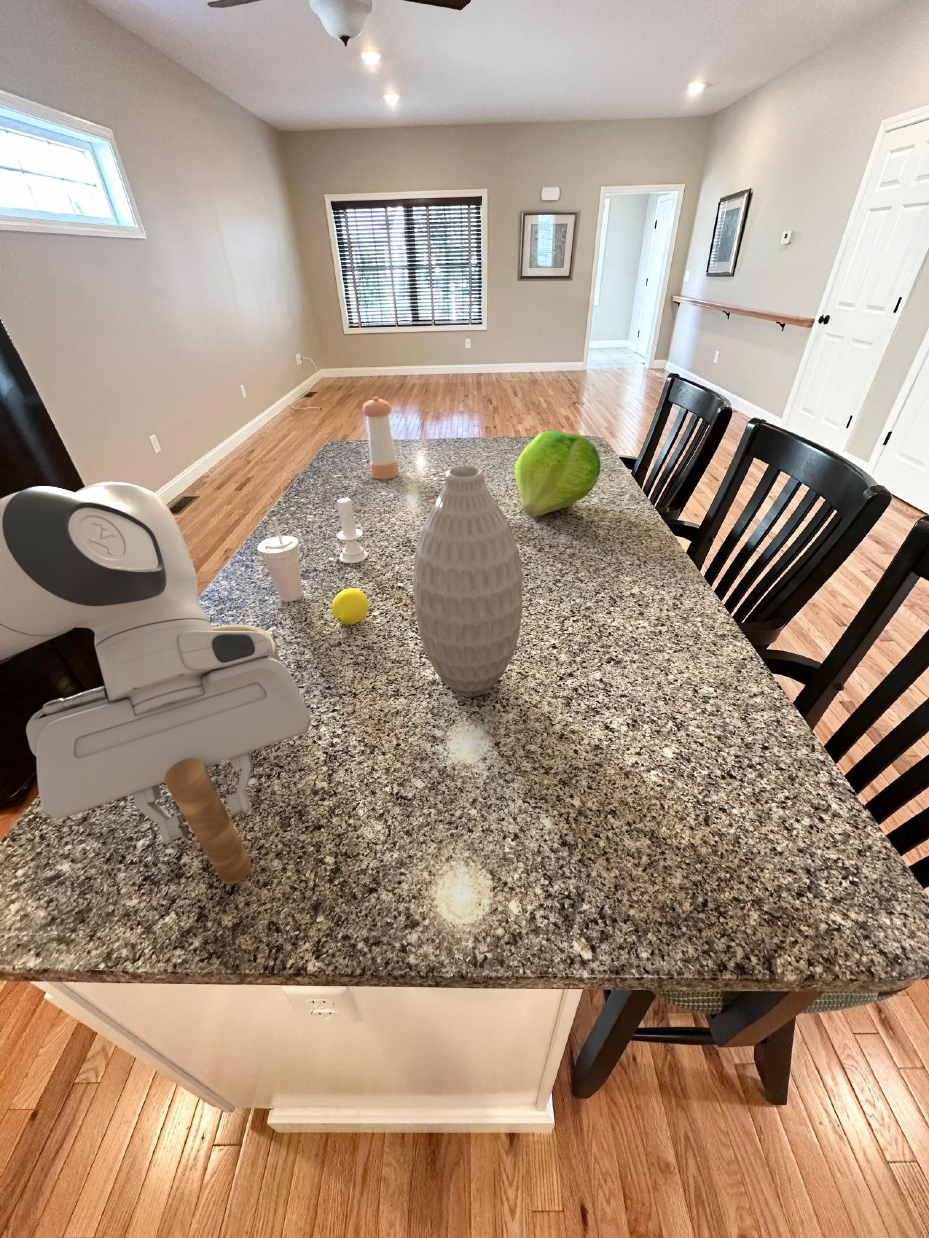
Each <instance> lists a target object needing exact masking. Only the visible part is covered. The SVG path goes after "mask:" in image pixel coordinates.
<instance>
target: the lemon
mask: <svg viewBox="0 0 929 1238" xmlns="http://www.w3.org/2000/svg"><path fill="white" fill-rule="evenodd" d="M369 608H370V605H369V599H368V597H367V595H366V593H364V592H363V591H361V589H359V588H354V587H350V588H344V589H342V590H341V591H340V592H338V593H337V594H336V596H335V597H334V599H333V600H332V603H331V613H332V616H333V617H334V619H336V621H337V622H338V623H341V624H343V625H346V626H347V625H355V624H357V623H360V622H361V621H362V620H363V619H364V618H365V617H366V616H367V614H368V611H369Z"/></svg>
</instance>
